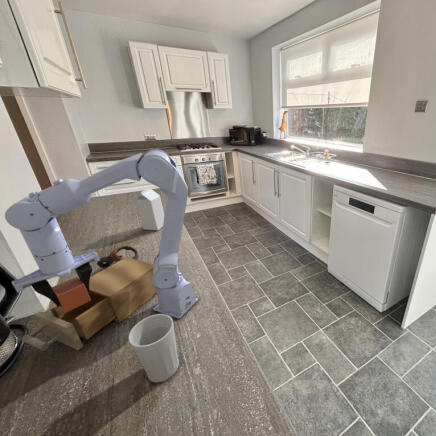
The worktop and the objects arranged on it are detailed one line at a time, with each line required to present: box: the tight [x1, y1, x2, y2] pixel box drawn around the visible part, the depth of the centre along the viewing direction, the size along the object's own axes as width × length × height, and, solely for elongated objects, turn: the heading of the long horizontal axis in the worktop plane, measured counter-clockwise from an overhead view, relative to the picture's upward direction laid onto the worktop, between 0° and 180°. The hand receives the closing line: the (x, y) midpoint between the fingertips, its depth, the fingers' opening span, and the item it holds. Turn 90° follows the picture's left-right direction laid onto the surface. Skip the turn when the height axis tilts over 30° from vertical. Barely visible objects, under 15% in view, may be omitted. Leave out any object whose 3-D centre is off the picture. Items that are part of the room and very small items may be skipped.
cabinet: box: [89, 256, 157, 323], centre depth 71 cm, size 15×13×9 cm
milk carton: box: [135, 186, 165, 231], centre depth 112 cm, size 7×7×19 cm
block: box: [51, 276, 91, 313], centre depth 58 cm, size 5×5×5 cm
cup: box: [128, 313, 180, 383], centre depth 51 cm, size 8×8×12 cm
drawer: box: [20, 292, 116, 351], centre depth 60 cm, size 18×11×7 cm, turn 161°
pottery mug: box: [96, 245, 139, 269], centre depth 86 cm, size 12×10×8 cm
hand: (72, 297), depth 58 cm, fingers closed on block, 5 cm apart
